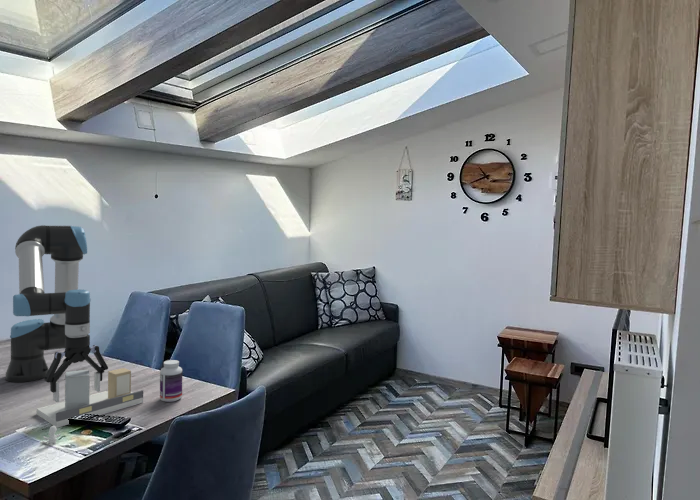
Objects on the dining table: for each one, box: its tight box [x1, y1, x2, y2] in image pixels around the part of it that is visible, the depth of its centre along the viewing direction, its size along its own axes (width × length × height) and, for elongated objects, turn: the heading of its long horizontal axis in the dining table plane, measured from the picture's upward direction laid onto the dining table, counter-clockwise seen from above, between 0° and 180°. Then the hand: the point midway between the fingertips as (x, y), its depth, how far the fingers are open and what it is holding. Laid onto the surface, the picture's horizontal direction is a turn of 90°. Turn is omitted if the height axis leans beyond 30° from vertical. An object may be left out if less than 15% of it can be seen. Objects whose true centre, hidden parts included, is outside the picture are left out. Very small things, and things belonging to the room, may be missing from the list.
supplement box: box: [64, 369, 91, 411], centre depth 172 cm, size 7×7×13 cm
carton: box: [107, 367, 132, 399], centre depth 184 cm, size 5×6×10 cm
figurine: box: [41, 425, 62, 447], centre depth 151 cm, size 8×8×6 cm
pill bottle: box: [159, 359, 183, 403], centre depth 190 cm, size 8×8×14 cm
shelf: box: [36, 389, 144, 429], centre depth 178 cm, size 16×30×5 cm, turn 143°
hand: (77, 395), depth 172 cm, fingers open, 13 cm apart
